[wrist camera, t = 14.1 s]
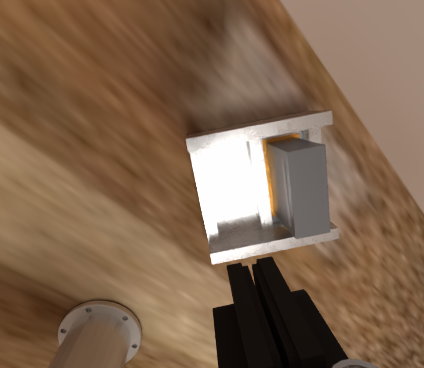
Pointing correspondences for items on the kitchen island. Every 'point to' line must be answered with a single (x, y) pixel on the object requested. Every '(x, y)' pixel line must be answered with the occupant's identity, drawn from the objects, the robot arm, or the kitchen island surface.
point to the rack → (247, 185)
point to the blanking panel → (299, 186)
